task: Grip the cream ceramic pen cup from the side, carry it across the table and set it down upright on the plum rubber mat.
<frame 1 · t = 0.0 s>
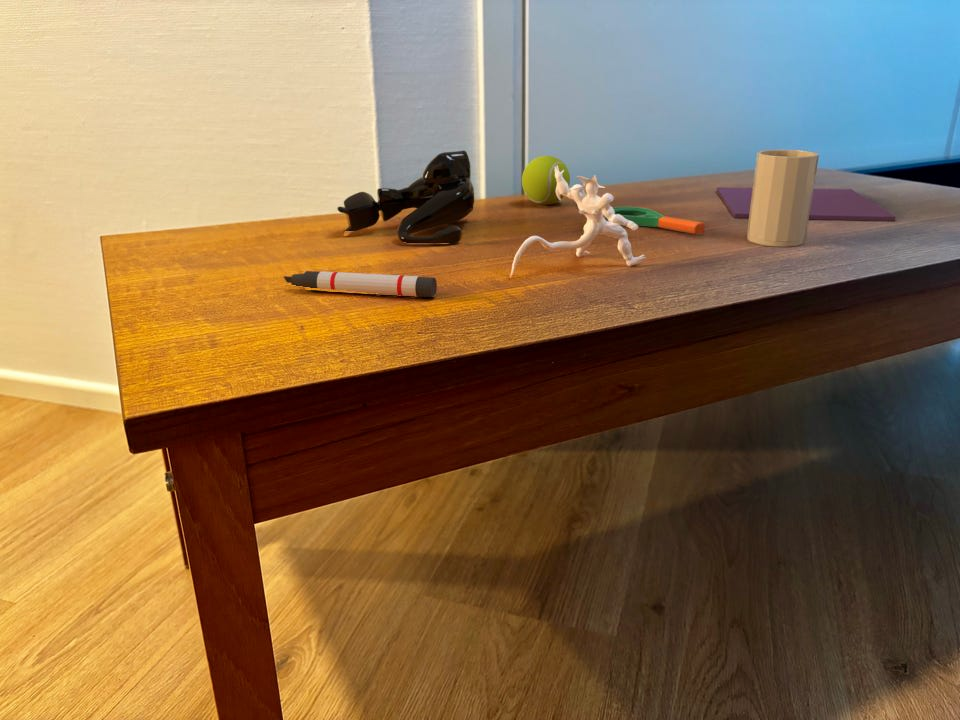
magnifying glass: (652, 227, 95), on the table
tennis ball: (545, 205, 109), on the table
pen cup: (775, 240, 87), on the table
creature figurine: (582, 270, 77), on the table
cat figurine: (419, 236, 92), on the table
marker: (358, 295, 71), on the table
mat: (796, 204, 106), on the table
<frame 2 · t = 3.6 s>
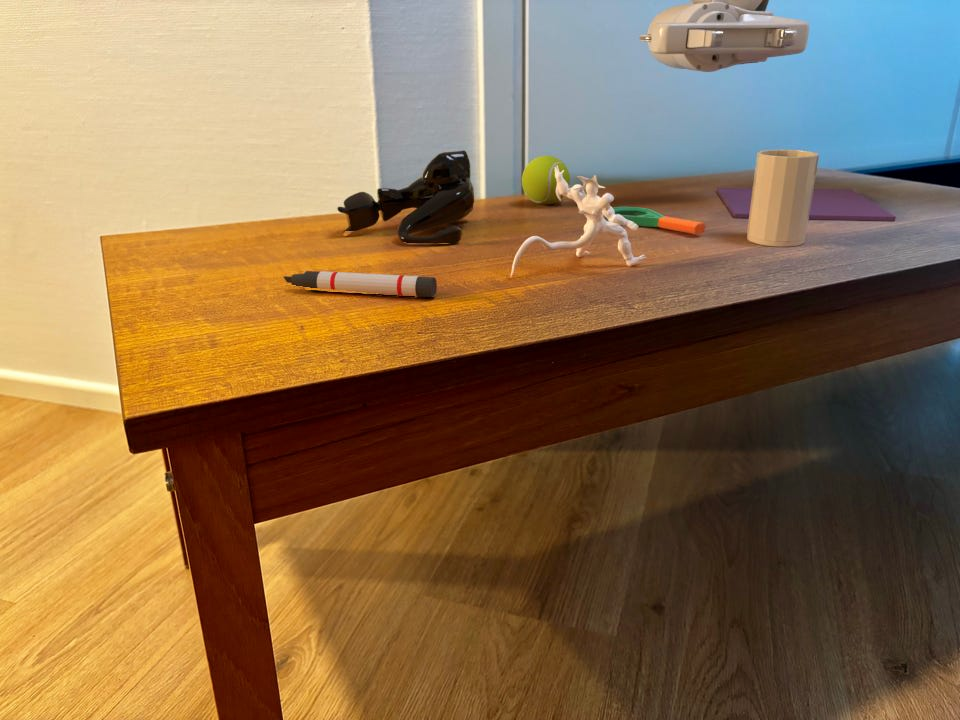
hand: (754, 38, 89), 22 cm above the table, tool horizontal, fingers open, 8 cm apart
nothing on the table moved.
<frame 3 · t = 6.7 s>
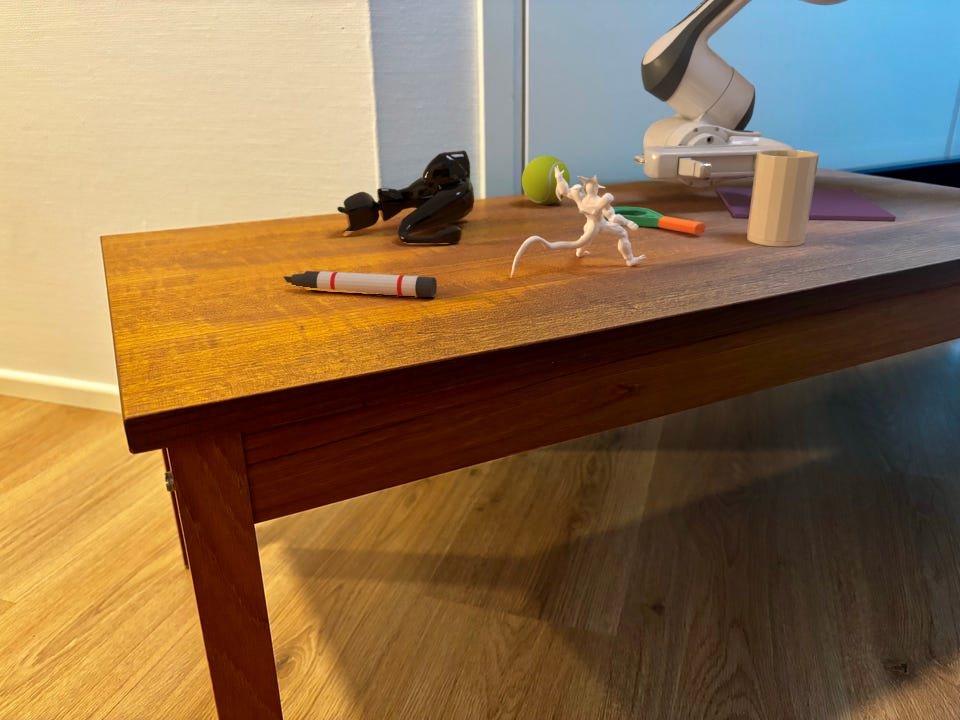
hand: (740, 169, 95), 7 cm above the table, tool horizontal, fingers open, 8 cm apart
nothing on the table moved.
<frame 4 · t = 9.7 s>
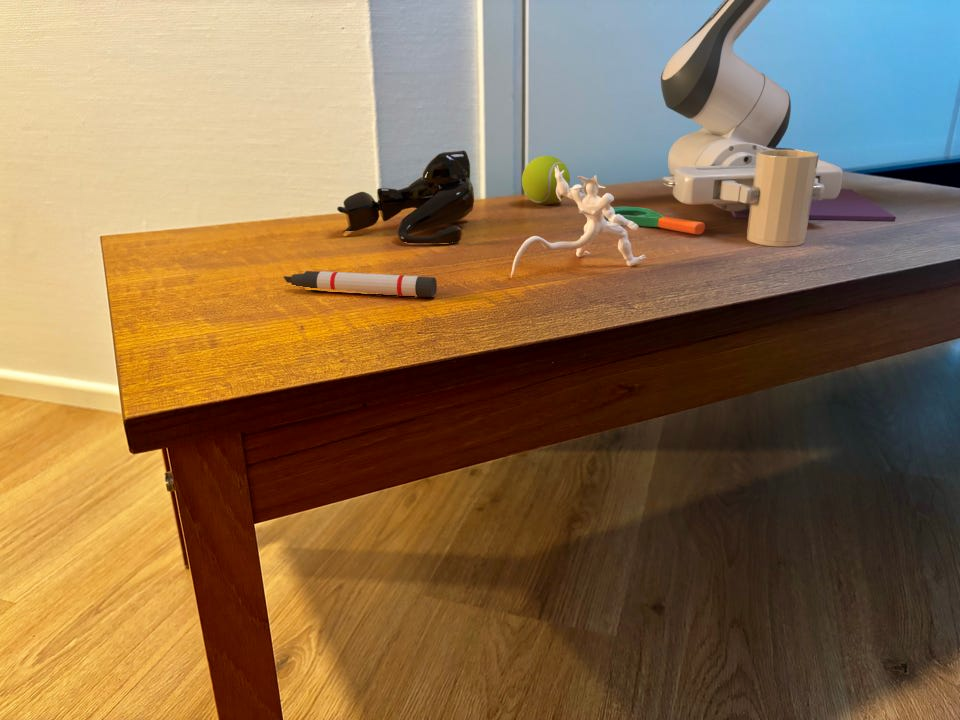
hand: (786, 194, 84), 5 cm above the table, tool horizontal, fingers closed on pen cup, 6 cm apart
pen cup: (775, 240, 87), on the table, touching gripper
everything else where it was.
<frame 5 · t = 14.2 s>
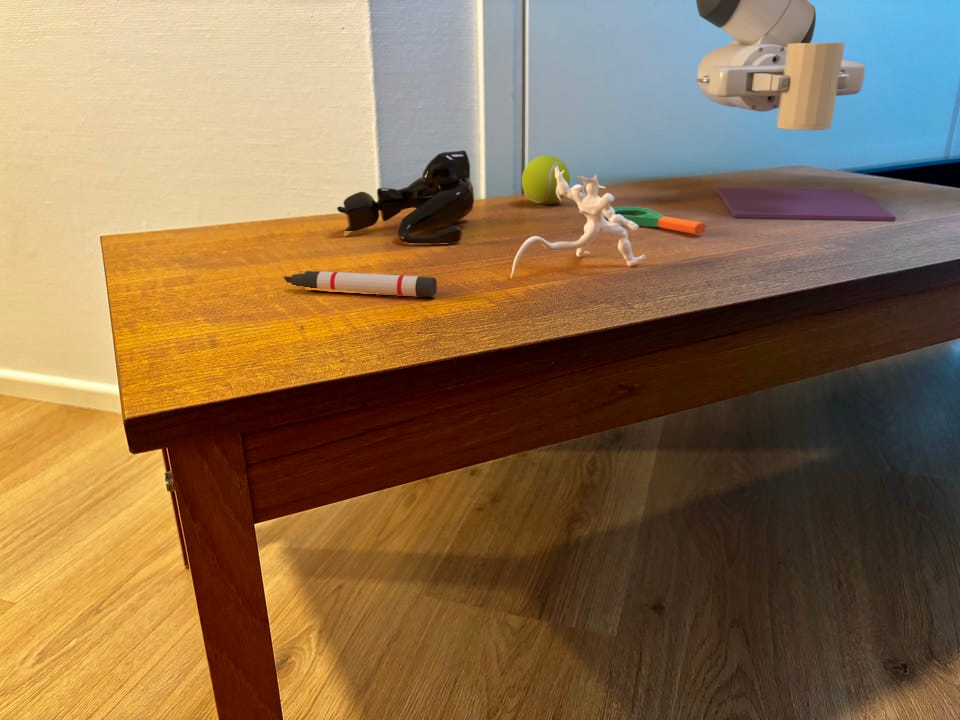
hand: (814, 82, 92), 17 cm above the table, tool horizontal, fingers closed on pen cup, 6 cm apart
pen cup: (803, 127, 95), point 11 cm above the table, touching gripper
everything else where it was.
when the fingers open (6 cm above the table, at t = 18.9 s): pen cup stays where it is, resting on mat.
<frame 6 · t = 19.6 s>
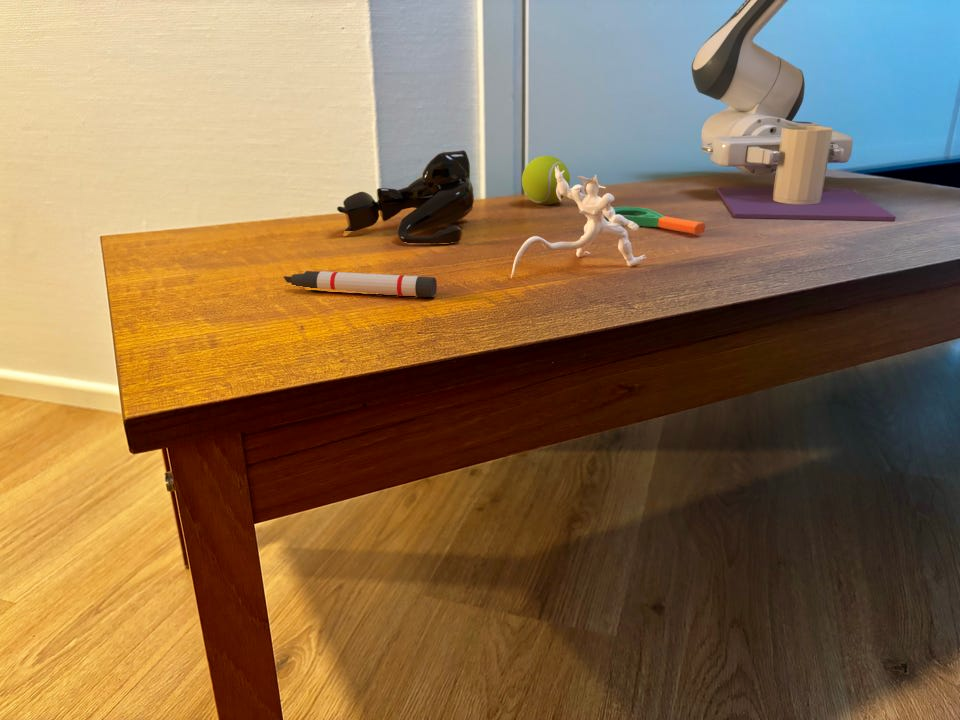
hand: (806, 156, 103), 7 cm above the table, tool horizontal, fingers open, 8 cm apart
pen cup: (796, 200, 106), point 1 cm above the table, touching mat
everything else where it was.
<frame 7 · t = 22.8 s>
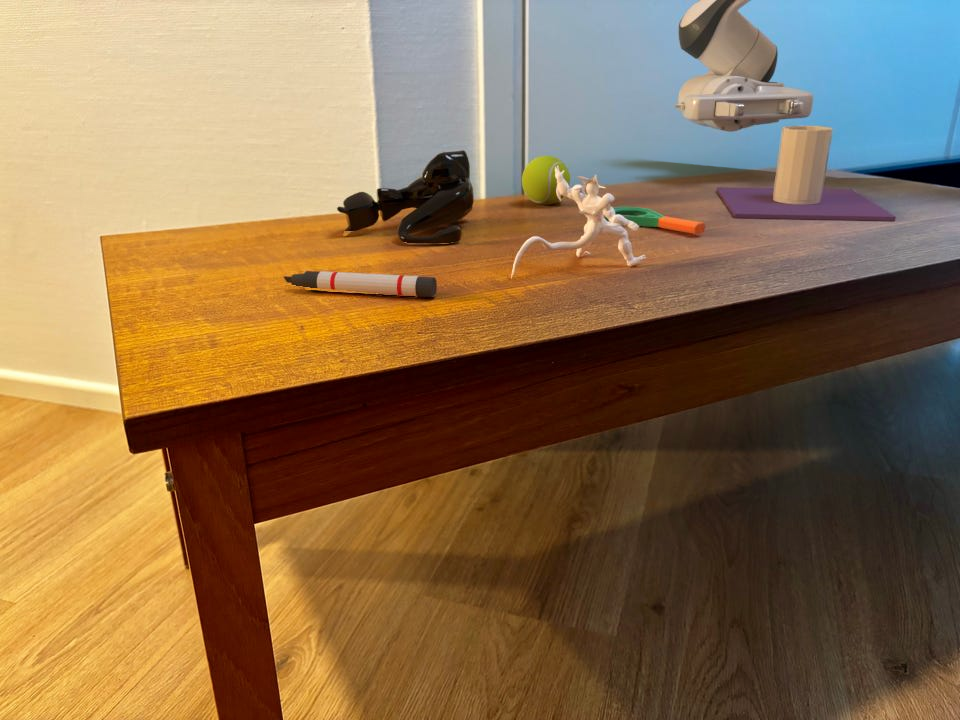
hand: (769, 109, 112), 12 cm above the table, tool horizontal, fingers open, 8 cm apart
nothing on the table moved.
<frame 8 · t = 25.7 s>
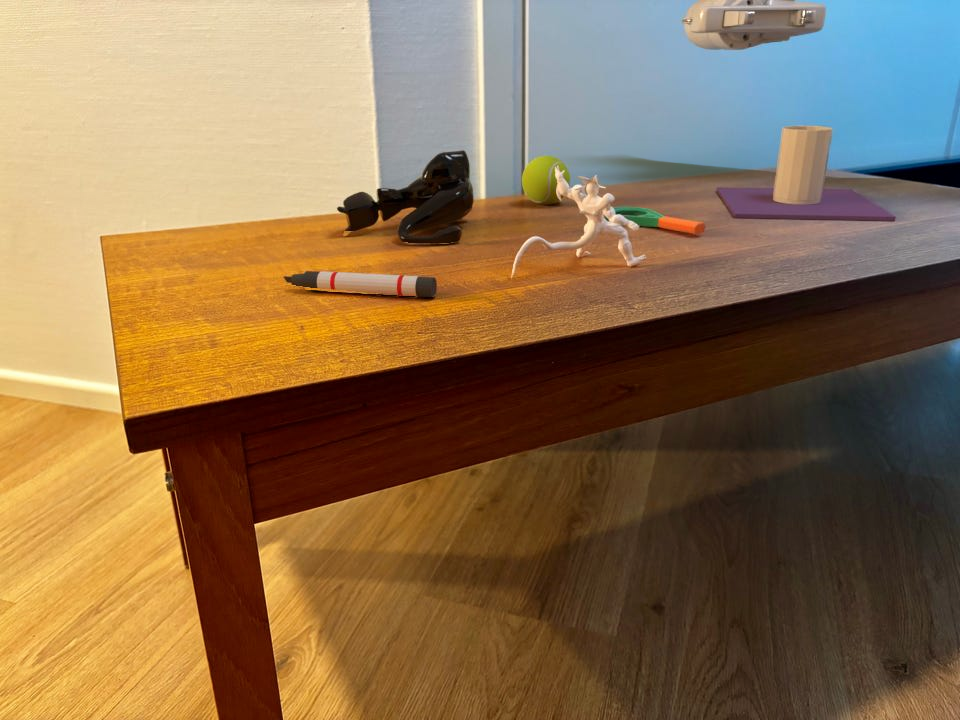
hand: (780, 17, 107), 25 cm above the table, tool horizontal, fingers open, 8 cm apart
nothing on the table moved.
at the end: pen cup inside the target area on the mat (0.1 cm from its centre), point 0.6 cm above the mat's base; pen cup tilted 0°; the gripper is holding nothing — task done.
